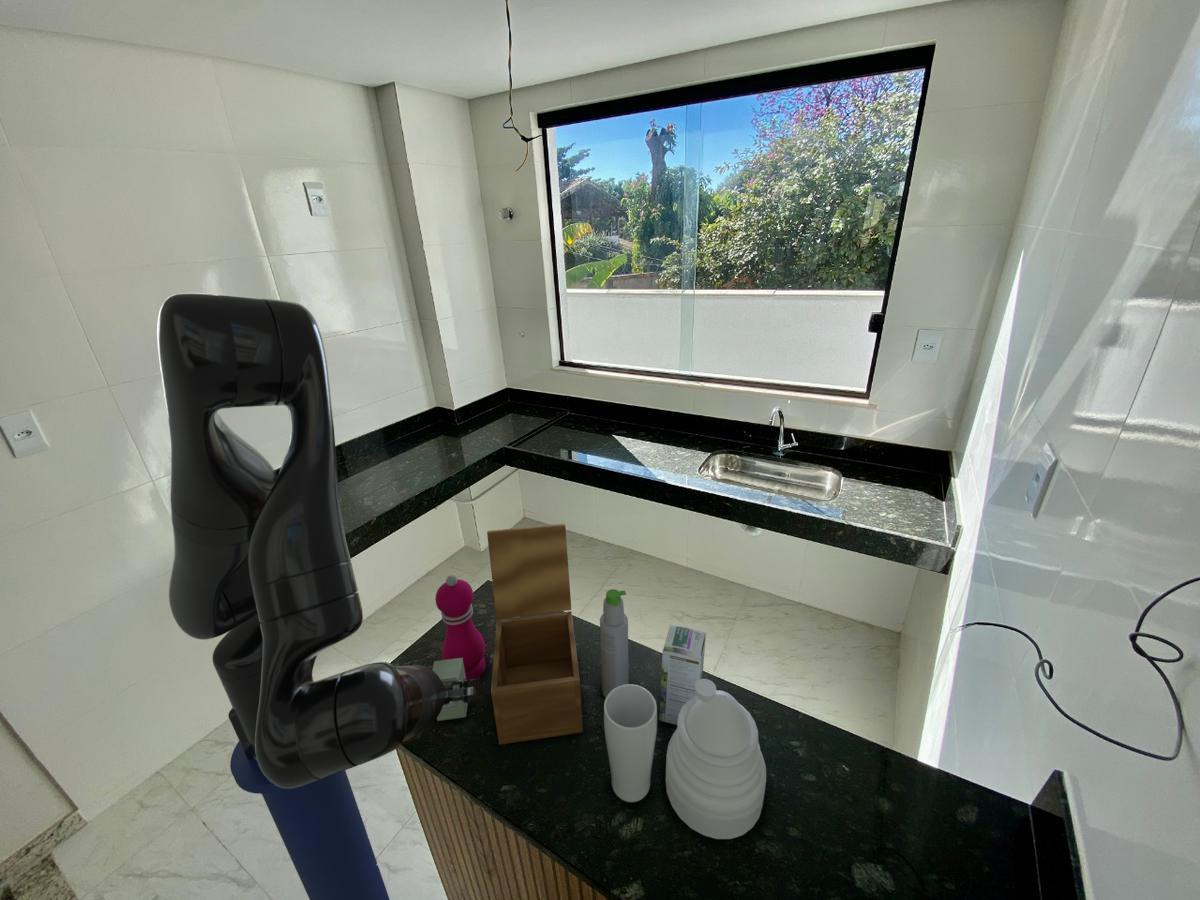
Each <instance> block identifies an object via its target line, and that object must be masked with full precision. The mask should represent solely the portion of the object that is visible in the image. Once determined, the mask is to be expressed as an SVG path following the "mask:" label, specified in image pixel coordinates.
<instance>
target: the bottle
mask: <svg viewBox="0 0 1200 900" xmlns="http://www.w3.org/2000/svg"><path fill="white" fill-rule="evenodd" d="M625 595H627V592H626V590H618V589H615V588H612V589H611V588H610V589H609V590H607V591H606V593H605V597H604V599H603V606H602V607H603V608H602V611H603V612H602V615H600V618H599V636H600V659H601V661H600V663H601V665H600V666H601V687H602V689H601V690H602V695H603V697H604V698H605V699H606V697H607V695H608V694H609V693H610V692H611V691H612V690H613V689H614V688H616V687H618V686H621V685H626V684H630V683H629V681H630V680H629V678H630V677H629V619H628V616H627V615H626V613H625V608H624V599H623V598H622V597H621V596H625Z"/></svg>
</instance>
